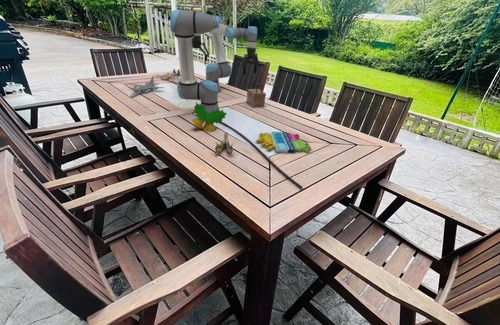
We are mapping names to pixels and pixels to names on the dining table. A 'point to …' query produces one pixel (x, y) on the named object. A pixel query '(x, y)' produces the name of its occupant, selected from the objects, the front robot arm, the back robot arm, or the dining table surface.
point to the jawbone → (224, 145)
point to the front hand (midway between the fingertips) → (196, 64)
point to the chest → (255, 100)
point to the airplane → (145, 87)
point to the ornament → (207, 117)
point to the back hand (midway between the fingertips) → (249, 74)
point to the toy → (170, 75)
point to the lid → (257, 90)
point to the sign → (283, 142)
